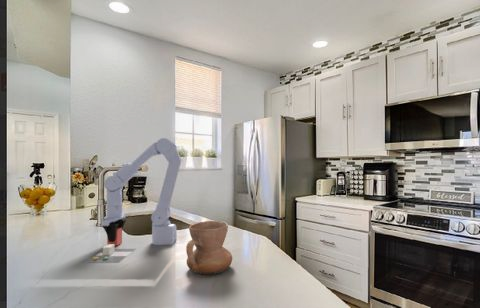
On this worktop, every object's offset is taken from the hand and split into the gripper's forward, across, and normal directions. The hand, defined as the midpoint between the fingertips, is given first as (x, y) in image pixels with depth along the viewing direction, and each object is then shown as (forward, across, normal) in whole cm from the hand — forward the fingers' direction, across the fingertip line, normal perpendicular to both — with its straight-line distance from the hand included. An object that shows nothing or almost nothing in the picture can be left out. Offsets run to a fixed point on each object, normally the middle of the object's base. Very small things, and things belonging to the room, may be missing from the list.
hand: (114, 239), depth 108 cm
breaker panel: (+3, +12, +5) cm, 13 cm away
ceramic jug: (+4, +21, +41) cm, 46 cm away
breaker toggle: (+2, +11, +3) cm, 12 cm away
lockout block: (+2, 0, 0) cm, 2 cm away
